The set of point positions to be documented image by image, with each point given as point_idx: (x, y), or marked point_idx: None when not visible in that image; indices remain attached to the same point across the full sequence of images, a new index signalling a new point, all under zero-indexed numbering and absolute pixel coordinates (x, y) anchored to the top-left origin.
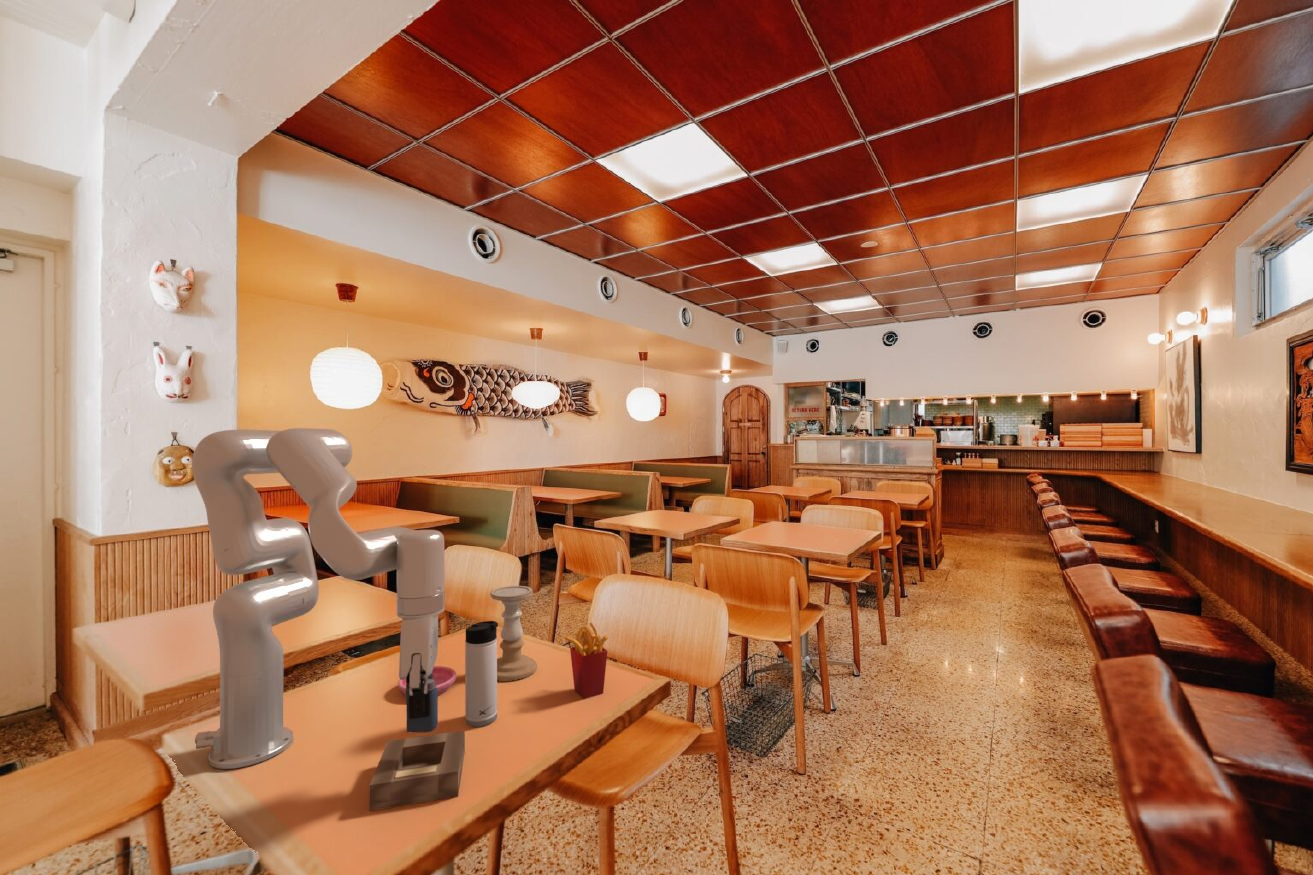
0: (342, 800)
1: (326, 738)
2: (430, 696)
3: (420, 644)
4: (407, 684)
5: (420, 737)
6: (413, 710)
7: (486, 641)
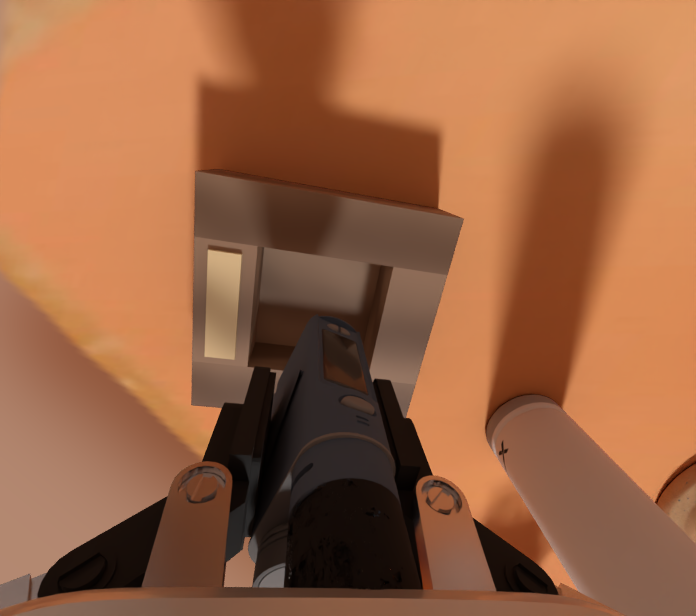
0: (300, 85)
1: None
2: None
3: None
4: (311, 479)
5: (428, 315)
6: (220, 412)
7: None
